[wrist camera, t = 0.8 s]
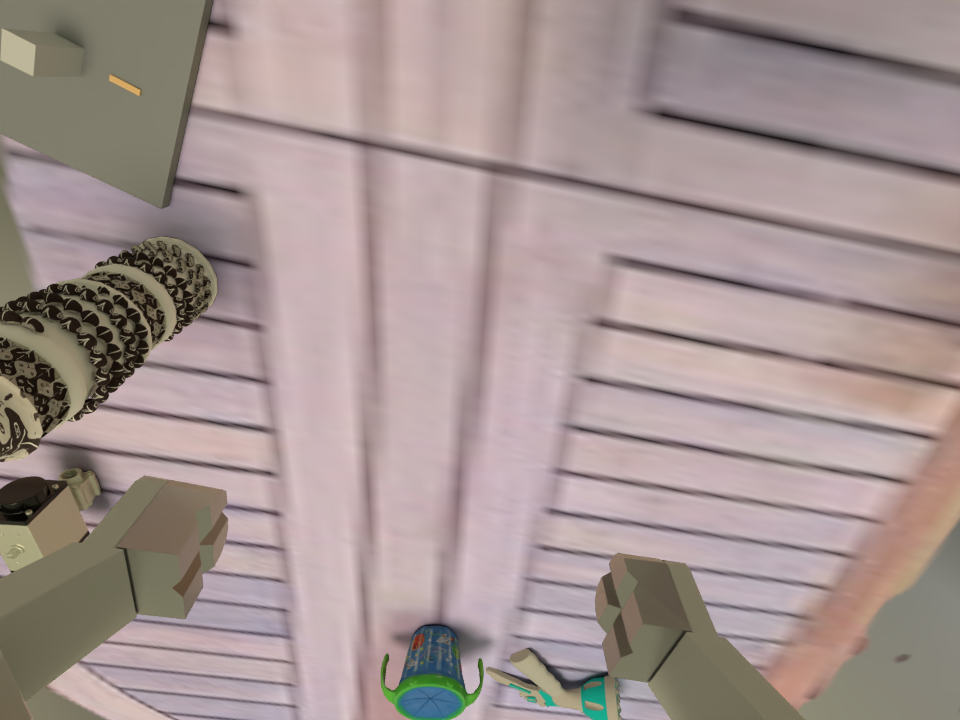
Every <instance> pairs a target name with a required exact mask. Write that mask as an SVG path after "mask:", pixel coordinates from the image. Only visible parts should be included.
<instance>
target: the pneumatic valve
mask: <svg viewBox="0 0 960 720" xmlns="http://www.w3.org/2000/svg"><path fill="white" fill-rule="evenodd" d="M100 493H101V488H100V486H99V483H98V481H97V478H96V476H95V473H94V472H93V471H87V472H82V470H81V469H79V468H71V469H68V470H65V471H64V472H62V473H61V474H60V475H59V481H56V480H44V479H43V478H41V477H35V476H33V477H25V478H21V479H18V480H15V481H13V482H11V483H9V484H7V485H5V486H4V487H2V488H1V489H0V554H1V556H2V557H3V559H4V561H5V562H6V564H7V566H8V568H9V569H10V571H11V573H13V572H15V571H17V570H19V569H21V568H23V567H25V566H27V565H29V564H31V563H33V562H35V561H37V560H39V559H41V558H43V557H45V556H47V555H49V554H51V553H53V552H55V551H57V550H59V549H61V548H63V547H65V546H67V545H69V544H71V543H73V542H78V543H83V542H84V540H85V539H86V538H87V536H88V535H89V534H90V533H89V531H88V529H87V526H86V524H85V522H84V520H83V517H82V515H81V513H80V510H86V509H87V508H88V507H90V506H91V505H92V504H93V499H94V497H95V496H99V495H100Z"/></svg>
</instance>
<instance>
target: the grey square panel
mask: <svg viewBox="0 0 960 720" xmlns="http://www.w3.org/2000/svg"><path fill="white" fill-rule="evenodd" d="M212 4H213V1H212V0H0V134H2V135H4V136H7V137H9V138H11V139H13V140H15V141H17V142H19V143H21V144H24V145H26V146H28V147H30V148H32V149H34V150H36V151H39V152H41V153H43V154H45V155H47V156H49V157H51V158H54V159H56V160H58V161H60V162H62V163H64V164H66V165H69V166H71V167H73V168H75V169H77V170H79V171H81V172H84V173H86V174H88V175H90V176H92V177H94V178H96V179H98V180H101V181H103V182H105V183H107V184H109V185H111V186H113V187H116V188H118V189H120V190H122V191H124V192H126V193H128V194H131V195H133V196H135V197H137V198H139V199H141V200H143V201H146V202H148V203H150V204H152V205H154V206H156V207H158V208H161V209H162V208H165V207H167V206H169V201H170V197H171V192H172V187H173V183H174V178H175V174H176V169H177V164H178V160H179V155H180V151H181V146H182V142H183V137H184V132H185V128H186V123H187V119H188V114H189V109H190V105H191V100H192V96H193V91H194V86H195V82H196V77H197V73H198V68H199V64H200V59H201V54H202V50H203V45H204V41H205V36H206V31H207V27H208V22H209V18H210V13H211V9H212Z"/></svg>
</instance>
